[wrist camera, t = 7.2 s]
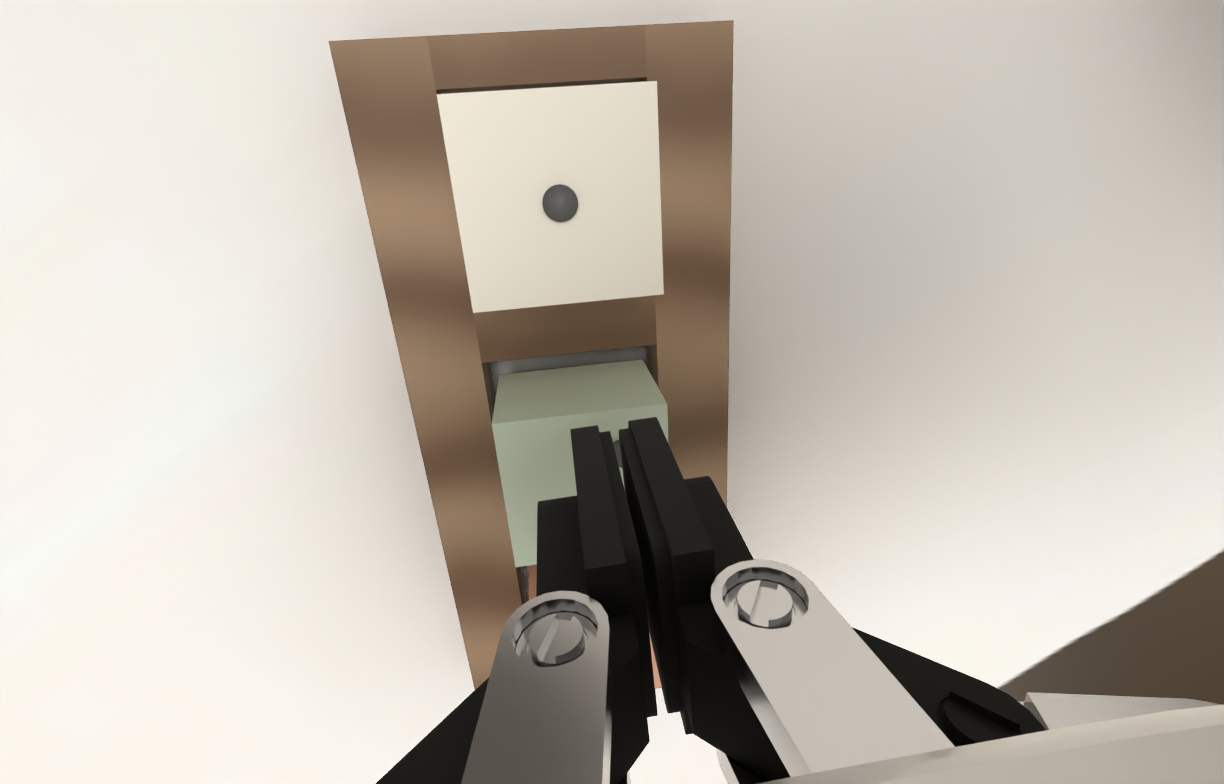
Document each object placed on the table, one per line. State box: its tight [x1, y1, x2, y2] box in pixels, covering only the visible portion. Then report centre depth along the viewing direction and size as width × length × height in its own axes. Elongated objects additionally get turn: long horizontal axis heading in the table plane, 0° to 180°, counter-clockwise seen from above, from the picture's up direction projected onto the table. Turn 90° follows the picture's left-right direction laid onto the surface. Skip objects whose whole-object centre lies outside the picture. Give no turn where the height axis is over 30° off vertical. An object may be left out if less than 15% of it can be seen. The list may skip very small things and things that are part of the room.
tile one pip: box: [437, 81, 664, 313], centre depth 18 cm, size 6×6×5 cm
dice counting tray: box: [329, 20, 733, 690], centre depth 25 cm, size 29×13×2 cm, turn 4°
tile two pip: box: [492, 359, 669, 567], centre depth 22 cm, size 6×6×5 cm
